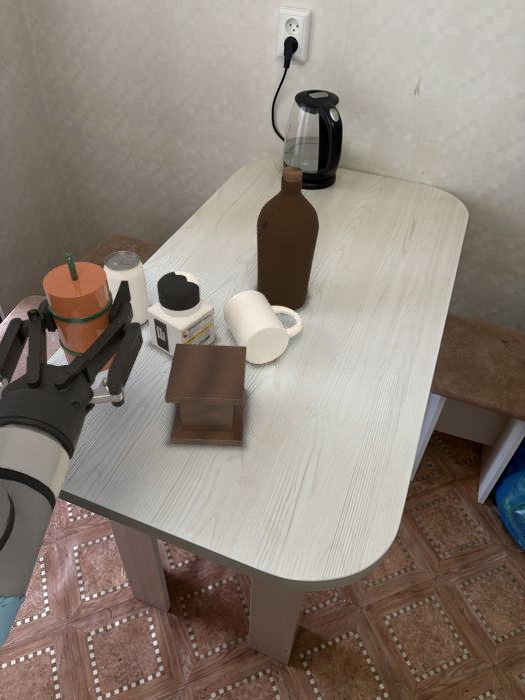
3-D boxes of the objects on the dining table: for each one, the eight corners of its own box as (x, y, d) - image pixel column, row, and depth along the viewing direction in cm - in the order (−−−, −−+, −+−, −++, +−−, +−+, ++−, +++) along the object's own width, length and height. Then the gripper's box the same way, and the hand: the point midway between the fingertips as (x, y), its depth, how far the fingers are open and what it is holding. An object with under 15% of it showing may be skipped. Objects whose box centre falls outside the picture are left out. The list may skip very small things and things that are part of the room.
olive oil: (298, 320, 92) (314, 190, 74) (245, 304, 94) (248, 176, 77) (316, 288, 99) (334, 164, 82) (266, 274, 101) (273, 151, 84)
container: (184, 364, 82) (178, 301, 73) (151, 344, 85) (141, 281, 76) (215, 340, 87) (213, 278, 78) (182, 321, 90) (177, 259, 81)
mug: (242, 369, 82) (243, 332, 77) (223, 330, 89) (222, 294, 83) (309, 353, 86) (314, 316, 80) (286, 317, 92) (289, 281, 87)
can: (118, 304, 93) (107, 248, 84) (153, 306, 93) (146, 250, 84) (109, 327, 88) (96, 270, 80) (146, 329, 88) (137, 272, 80)
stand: (171, 443, 71) (164, 396, 64) (180, 390, 78) (175, 343, 71) (242, 446, 71) (243, 400, 64) (245, 393, 78) (246, 346, 71)
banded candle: (57, 373, 58) (22, 270, 48) (74, 334, 63) (45, 234, 53) (116, 375, 58) (92, 273, 48) (128, 336, 63) (109, 237, 53)
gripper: (-69, 469, 46) (23, 309, 62) (145, 477, 46) (180, 316, 63) (-108, 416, 41) (4, 258, 57) (134, 426, 41) (175, 265, 58)
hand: (96, 288), depth 60 cm, fingers closed on banded candle, 6 cm apart
